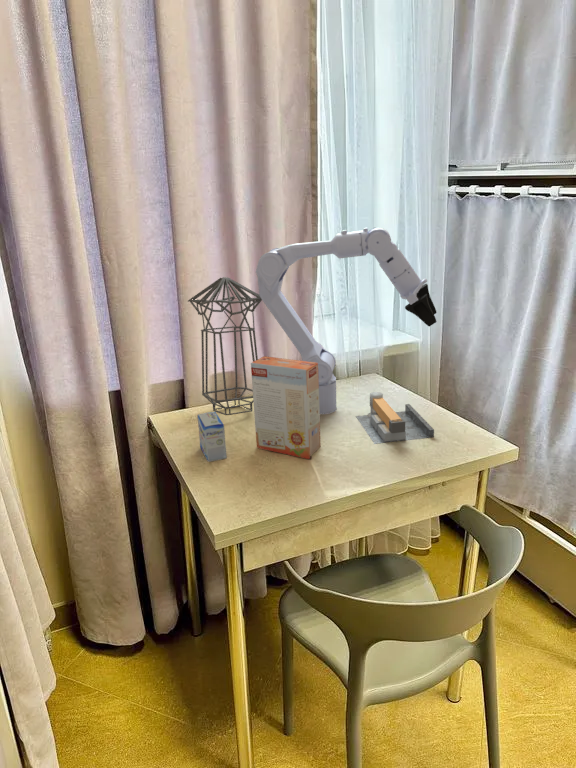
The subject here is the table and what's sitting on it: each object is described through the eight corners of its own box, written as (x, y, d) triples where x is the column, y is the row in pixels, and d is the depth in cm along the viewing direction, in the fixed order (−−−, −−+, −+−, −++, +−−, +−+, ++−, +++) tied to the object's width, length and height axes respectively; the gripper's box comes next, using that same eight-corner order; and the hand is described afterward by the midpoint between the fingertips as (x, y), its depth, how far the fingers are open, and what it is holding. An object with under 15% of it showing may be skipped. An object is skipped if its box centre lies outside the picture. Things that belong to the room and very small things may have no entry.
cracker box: (322, 449, 124) (319, 361, 117) (309, 461, 119) (306, 369, 112) (269, 438, 131) (264, 354, 124) (255, 448, 126) (249, 361, 119)
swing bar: (368, 403, 138) (368, 392, 137) (380, 402, 139) (380, 391, 138) (391, 433, 122) (391, 421, 120) (405, 431, 122) (405, 419, 121)
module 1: (376, 430, 130) (376, 422, 129) (370, 422, 134) (370, 414, 134) (396, 428, 130) (397, 420, 130) (390, 420, 135) (390, 412, 134)
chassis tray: (374, 447, 124) (374, 433, 122) (354, 418, 140) (354, 405, 139) (433, 441, 125) (434, 427, 124) (407, 412, 141) (407, 400, 140)
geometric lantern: (272, 412, 143) (266, 275, 136) (216, 422, 135) (208, 277, 128) (244, 402, 156) (238, 276, 149) (192, 410, 148) (183, 278, 141)
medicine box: (200, 448, 128) (196, 413, 125) (218, 444, 129) (215, 410, 126) (207, 462, 121) (203, 426, 118) (227, 458, 122) (224, 423, 119)
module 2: (384, 441, 124) (384, 433, 123) (377, 432, 129) (377, 424, 128) (405, 439, 125) (405, 430, 124) (398, 430, 129) (398, 422, 129)
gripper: (413, 269, 120) (448, 318, 123) (416, 257, 133) (447, 302, 136) (386, 287, 123) (421, 335, 126) (391, 274, 136) (422, 317, 139)
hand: (432, 319), depth 131 cm, fingers open, 7 cm apart
